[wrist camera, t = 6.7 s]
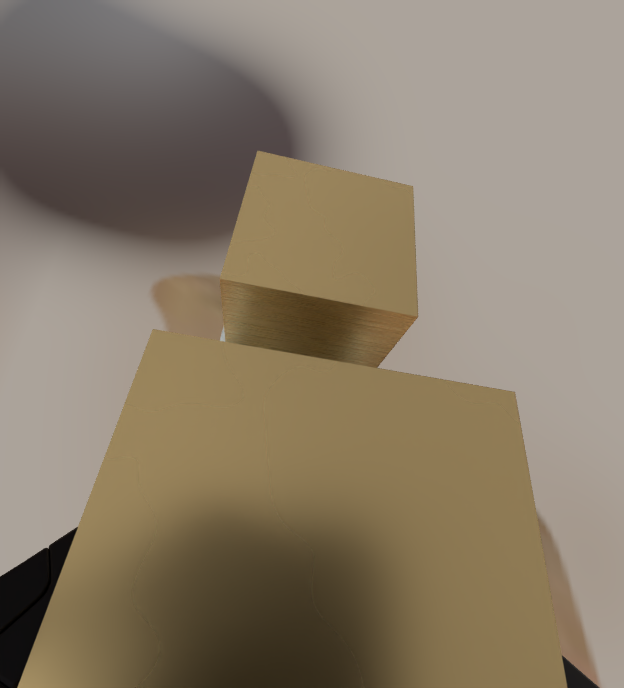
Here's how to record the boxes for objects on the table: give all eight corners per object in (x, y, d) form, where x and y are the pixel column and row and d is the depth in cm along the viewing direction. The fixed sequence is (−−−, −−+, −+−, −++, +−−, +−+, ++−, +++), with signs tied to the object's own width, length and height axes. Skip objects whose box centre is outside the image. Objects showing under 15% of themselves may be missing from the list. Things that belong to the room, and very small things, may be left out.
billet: (305, 617, 13) (624, 1018, 2) (193, 605, 13) (-111, 1023, 2) (317, 493, 15) (513, 379, 4) (220, 480, 15) (158, 316, 4)
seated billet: (312, 447, 18) (418, 316, 7) (233, 435, 18) (220, 278, 7) (320, 372, 20) (412, 182, 9) (249, 360, 20) (258, 146, 9)
